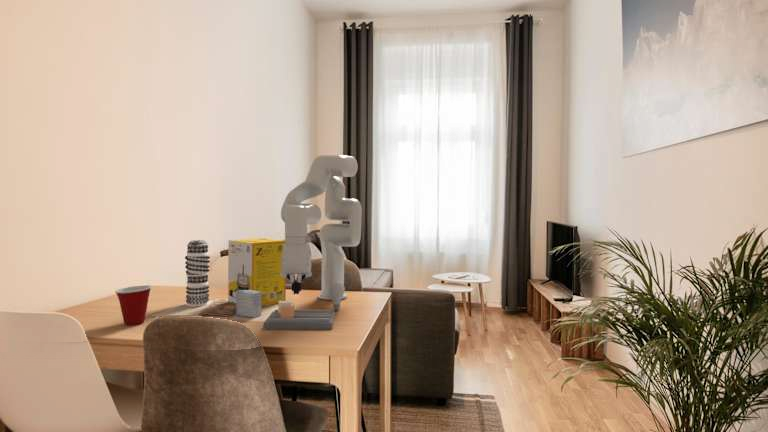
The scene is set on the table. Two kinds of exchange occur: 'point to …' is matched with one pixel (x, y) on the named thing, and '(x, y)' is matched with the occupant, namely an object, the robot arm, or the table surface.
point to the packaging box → (256, 269)
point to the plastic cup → (133, 303)
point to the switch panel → (301, 320)
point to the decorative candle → (197, 273)
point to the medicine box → (248, 303)
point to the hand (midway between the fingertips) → (296, 293)
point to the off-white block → (283, 304)
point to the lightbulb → (336, 293)
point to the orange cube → (287, 311)
